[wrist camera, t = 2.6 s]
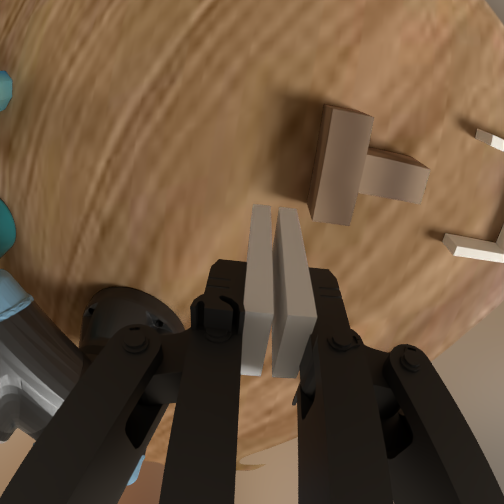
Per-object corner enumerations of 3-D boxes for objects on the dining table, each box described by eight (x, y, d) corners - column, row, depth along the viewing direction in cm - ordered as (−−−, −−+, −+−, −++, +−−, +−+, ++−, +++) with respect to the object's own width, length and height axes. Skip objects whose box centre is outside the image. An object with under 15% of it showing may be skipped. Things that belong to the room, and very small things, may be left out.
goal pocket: (442, 241, 32) (453, 255, 29) (477, 128, 24) (493, 134, 22) (497, 251, 32) (508, 263, 30) (531, 155, 24) (546, 163, 22)
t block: (307, 203, 30) (312, 221, 27) (324, 104, 25) (333, 108, 22) (396, 216, 31) (410, 234, 27) (419, 127, 25) (439, 136, 22)
